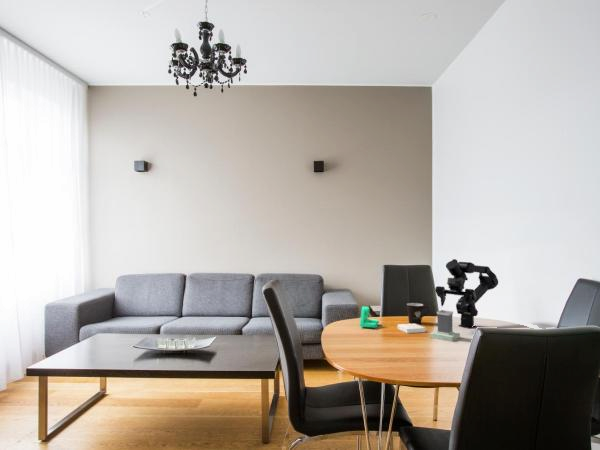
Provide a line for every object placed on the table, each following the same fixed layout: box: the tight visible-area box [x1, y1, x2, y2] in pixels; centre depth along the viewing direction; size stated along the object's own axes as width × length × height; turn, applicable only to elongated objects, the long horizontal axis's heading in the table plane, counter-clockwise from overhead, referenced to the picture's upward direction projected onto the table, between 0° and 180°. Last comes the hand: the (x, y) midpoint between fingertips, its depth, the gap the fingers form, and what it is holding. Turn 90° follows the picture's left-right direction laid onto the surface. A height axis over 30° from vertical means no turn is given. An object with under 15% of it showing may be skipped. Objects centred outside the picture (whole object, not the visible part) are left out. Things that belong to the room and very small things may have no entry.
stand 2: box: [429, 329, 461, 342], centre depth 183 cm, size 10×10×2 cm
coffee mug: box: [406, 302, 430, 325], centre depth 213 cm, size 12×9×10 cm
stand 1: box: [396, 323, 427, 334], centre depth 197 cm, size 10×10×2 cm
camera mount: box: [359, 305, 380, 329], centre depth 206 cm, size 12×8×10 cm, turn 158°
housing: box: [436, 309, 454, 335], centre depth 184 cm, size 6×6×10 cm
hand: (451, 306), depth 192 cm, fingers open, 9 cm apart
